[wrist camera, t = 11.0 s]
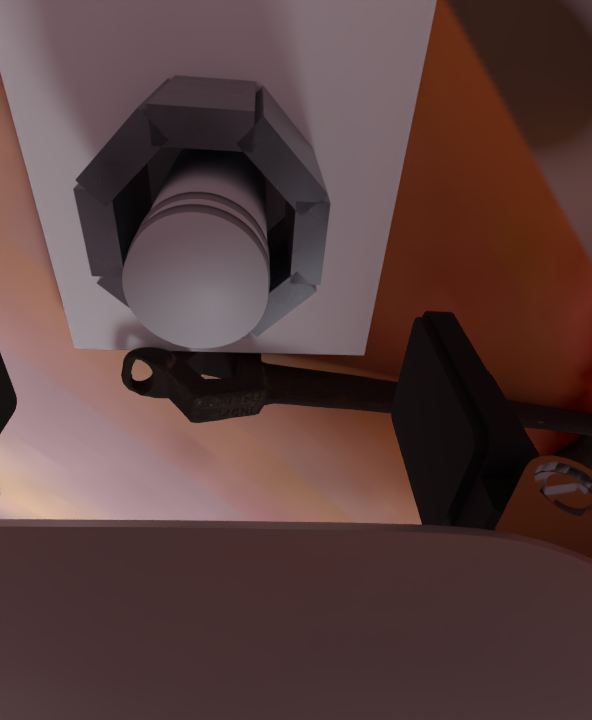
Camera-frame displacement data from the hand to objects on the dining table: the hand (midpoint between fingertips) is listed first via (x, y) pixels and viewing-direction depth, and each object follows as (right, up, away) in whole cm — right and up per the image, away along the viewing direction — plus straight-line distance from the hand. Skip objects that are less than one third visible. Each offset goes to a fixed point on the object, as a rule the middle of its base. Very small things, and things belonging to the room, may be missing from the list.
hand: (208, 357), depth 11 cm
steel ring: (-1, +7, +7) cm, 10 cm away
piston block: (-1, +8, +9) cm, 12 cm away
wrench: (+8, -2, +18) cm, 20 cm away
